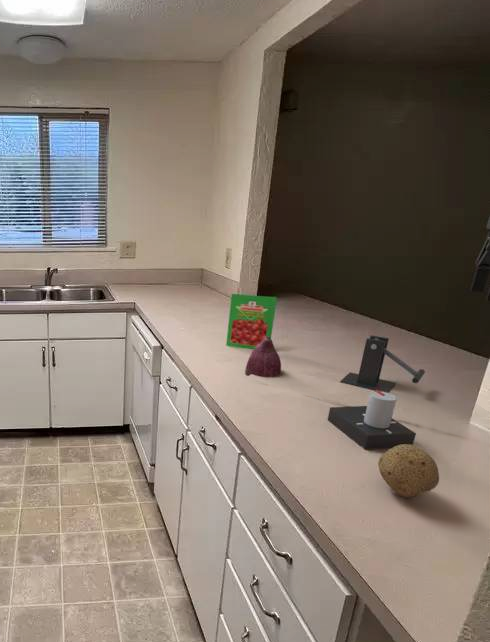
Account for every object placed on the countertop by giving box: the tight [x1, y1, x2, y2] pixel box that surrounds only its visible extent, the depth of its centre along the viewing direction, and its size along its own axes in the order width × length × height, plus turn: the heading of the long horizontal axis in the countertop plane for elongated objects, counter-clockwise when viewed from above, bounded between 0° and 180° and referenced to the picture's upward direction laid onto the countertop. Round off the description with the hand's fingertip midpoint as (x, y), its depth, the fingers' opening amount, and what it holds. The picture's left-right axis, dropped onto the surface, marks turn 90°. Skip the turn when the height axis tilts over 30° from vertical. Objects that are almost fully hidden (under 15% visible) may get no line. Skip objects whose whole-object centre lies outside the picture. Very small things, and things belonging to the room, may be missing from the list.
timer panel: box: [327, 405, 417, 450], centre depth 102 cm, size 14×11×4 cm
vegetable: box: [244, 336, 282, 378], centre depth 134 cm, size 10×10×15 cm
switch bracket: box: [339, 334, 396, 393], centre depth 125 cm, size 12×10×15 cm
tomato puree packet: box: [225, 293, 278, 350], centre depth 159 cm, size 15×1×20 cm, turn 62°
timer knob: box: [364, 390, 398, 429], centre depth 98 cm, size 5×5×7 cm
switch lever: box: [375, 338, 426, 384], centre depth 121 cm, size 15×9×2 cm, turn 45°
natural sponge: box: [377, 444, 440, 498], centre depth 79 cm, size 9×9×10 cm
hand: (484, 295), depth 118 cm, fingers open, 13 cm apart
